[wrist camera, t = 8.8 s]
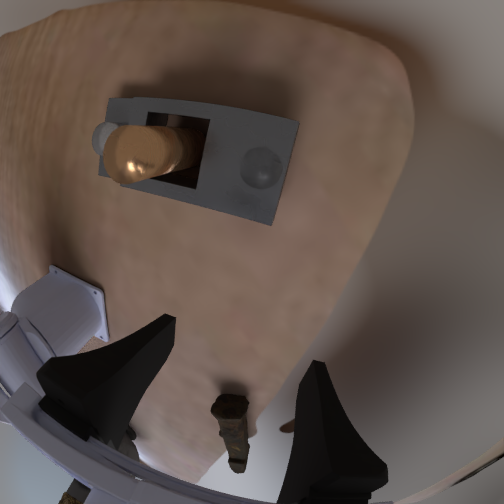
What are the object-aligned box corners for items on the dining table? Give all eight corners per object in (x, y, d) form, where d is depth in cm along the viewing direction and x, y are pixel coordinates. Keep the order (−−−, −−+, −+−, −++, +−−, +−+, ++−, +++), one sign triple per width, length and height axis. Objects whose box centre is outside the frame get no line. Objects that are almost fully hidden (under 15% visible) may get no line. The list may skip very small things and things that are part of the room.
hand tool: (217, 388, 29) (205, 419, 25) (250, 394, 28) (241, 426, 24) (228, 451, 36) (221, 473, 32) (251, 455, 35) (246, 477, 31)
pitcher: (128, 413, 37) (56, 536, 10) (159, 457, 44) (113, 553, 17) (86, 396, 39) (14, 498, 12) (121, 442, 47) (72, 528, 19)
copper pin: (168, 163, 20) (100, 179, 12) (175, 126, 18) (106, 123, 11) (204, 170, 19) (145, 189, 12) (211, 131, 18) (153, 127, 11)
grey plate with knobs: (109, 172, 21) (86, 178, 18) (120, 99, 18) (97, 96, 15) (276, 213, 20) (271, 225, 17) (300, 125, 17) (299, 121, 14)
